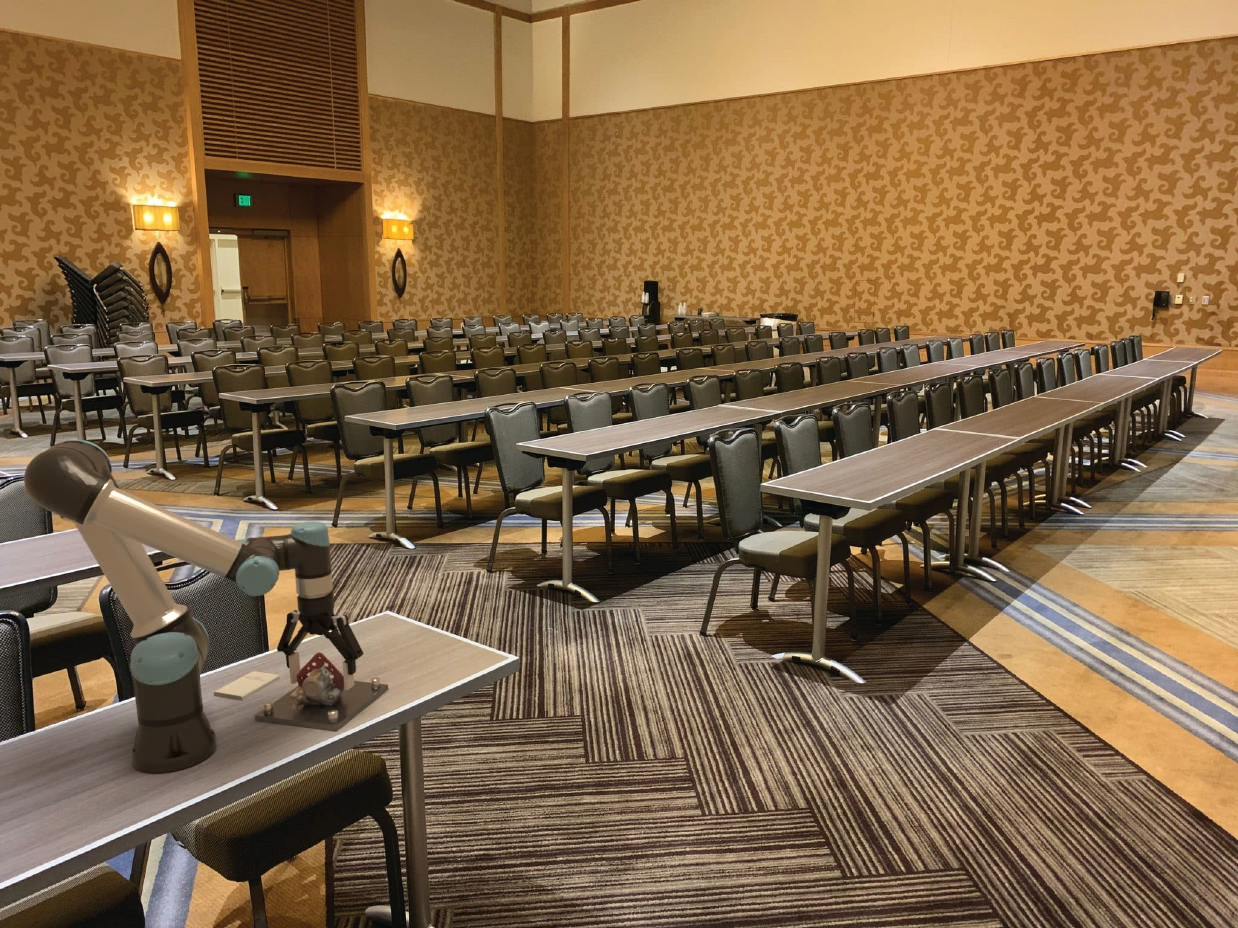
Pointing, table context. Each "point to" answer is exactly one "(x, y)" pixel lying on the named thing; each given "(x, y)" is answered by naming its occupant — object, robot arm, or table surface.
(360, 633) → the table surface
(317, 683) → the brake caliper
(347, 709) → the mounting plate
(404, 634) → the table surface
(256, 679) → the light wooden board
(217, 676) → the table surface
